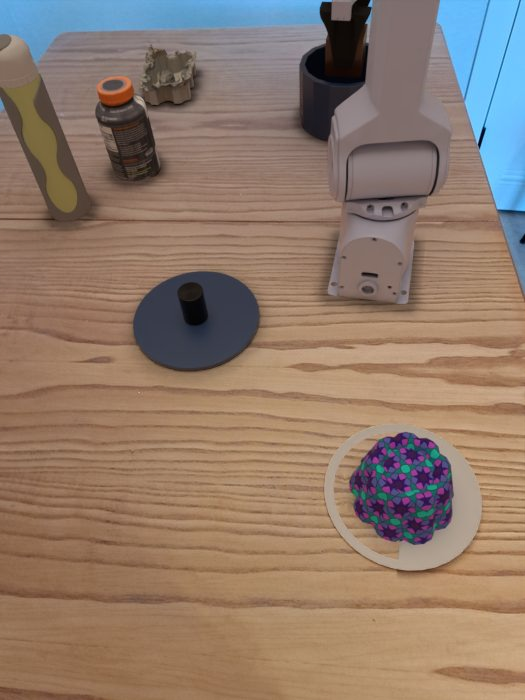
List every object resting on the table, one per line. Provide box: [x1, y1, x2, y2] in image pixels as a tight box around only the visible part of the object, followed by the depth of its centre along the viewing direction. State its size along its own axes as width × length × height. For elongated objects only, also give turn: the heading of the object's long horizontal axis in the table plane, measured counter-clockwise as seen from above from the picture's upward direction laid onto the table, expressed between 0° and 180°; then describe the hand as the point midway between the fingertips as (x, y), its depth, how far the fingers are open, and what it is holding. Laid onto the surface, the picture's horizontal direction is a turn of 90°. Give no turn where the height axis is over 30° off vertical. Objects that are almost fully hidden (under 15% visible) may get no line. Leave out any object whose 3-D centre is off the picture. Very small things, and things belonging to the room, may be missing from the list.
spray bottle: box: [0, 33, 92, 223], centre depth 61 cm, size 5×5×20 cm
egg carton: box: [139, 44, 197, 106], centre depth 83 cm, size 11×8×4 cm
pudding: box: [323, 422, 483, 571], centre depth 43 cm, size 12×12×5 cm
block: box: [325, 23, 369, 78], centre depth 70 cm, size 4×4×4 cm
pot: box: [298, 42, 369, 142], centre depth 74 cm, size 11×11×8 cm
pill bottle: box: [94, 75, 161, 182], centre depth 68 cm, size 6×6×11 cm
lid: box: [132, 270, 260, 372], centre depth 55 cm, size 12×12×5 cm
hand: (346, 56), depth 71 cm, fingers closed on block, 4 cm apart
